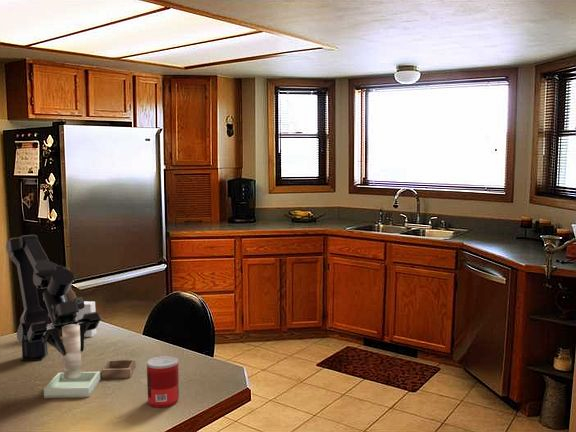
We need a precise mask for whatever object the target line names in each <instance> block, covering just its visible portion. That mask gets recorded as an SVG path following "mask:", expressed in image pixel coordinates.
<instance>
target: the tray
mask: <svg viewBox="0 0 576 432" xmlns="http://www.w3.org/2000/svg"><path fill="white" fill-rule="evenodd" d="M81 372H82V376H81V377H79V378H76V379H65V378H64V371H63V372H58V373H57V374H56V375H55V376H54V377H53V378H52V379H51V381H49V383H48V384H47V385H45V387H43V397H44V398H43V399H61V398H62V399H63V398H64V399H65V398H67V399H68V398H89V397H90V396H91V395H92V393H93V392H94V390H96V387H97V386H98V385H99V383H100V381H101V371H81Z"/></svg>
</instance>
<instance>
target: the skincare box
mask: <svg viewBox="0 0 576 432" xmlns="http://www.w3.org/2000/svg"><path fill="white" fill-rule="evenodd" d="M83 301H84V305H85V307H84V308H83V309H81V310H79V312H77V313H76V314H77V316H76V318H75V320H79V319H82V318H83V316H84V314H86V313H92V312H97V311H96V301H85V300H83ZM97 333H98V331H97V328H95V329H93V330H89V331H86V333H85V334H84V338H87V337H88V338H92V337H94V336H96V335H97Z"/></svg>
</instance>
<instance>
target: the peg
mask: <svg viewBox="0 0 576 432" xmlns="http://www.w3.org/2000/svg"><path fill="white" fill-rule="evenodd" d="M61 336H62V343H63V346H64V348H65V352H66V355H65V356H63V355H62V356H63V358H62V359H63V372H64V378H65V379H76V378H79V377H81V376H82V372H83V371H82V353H81V345H80V325H78V324H70V325H65V326H63V327H62V335H61Z"/></svg>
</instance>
